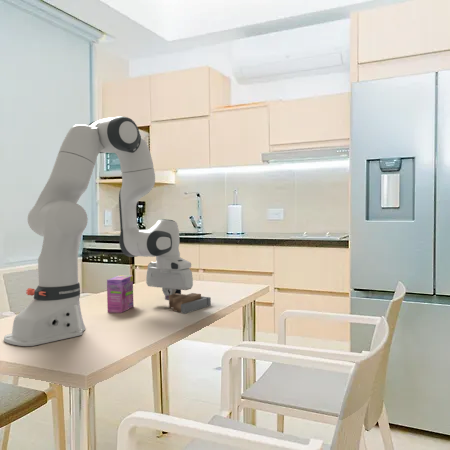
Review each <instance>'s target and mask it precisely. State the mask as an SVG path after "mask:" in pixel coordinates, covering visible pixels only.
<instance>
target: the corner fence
mask: <svg viewBox="0 0 450 450" xmlns="http://www.w3.org/2000/svg"><path fill="white" fill-rule="evenodd" d="M211 301H212V299H211V297H210V296H202V295H201V299H198V300H195V301H191V302H188V303H184V304H181V312H180V313H181V314H187V313H191V312H195V311H197V310H201V309H203V308H207V307H210V306H211V305H212V302H211Z"/></svg>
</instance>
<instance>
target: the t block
mask: <svg viewBox="0 0 450 450" xmlns="http://www.w3.org/2000/svg"><path fill="white" fill-rule="evenodd" d="M201 296H202V294H201V293H194V292H191V293H188V294H186V293H185V294H183V293H181V294H172V295H169V300H168V307H169V308H170V309H172V311H173V312H179V313H181V304H184V303H188V302H191V301H195V300H198V299H201Z"/></svg>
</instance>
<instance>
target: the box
mask: <svg viewBox="0 0 450 450" xmlns="http://www.w3.org/2000/svg"><path fill="white" fill-rule="evenodd" d="M106 293H107V294H106V297H107V298H106V302H107V305H106V306H107V307H106V308H107V313H113V314H116V313H117V314H122V313H124V312H126V311H128V310H129V309H131V308H133V307H134V305H135V304H134V276H133V275H132V274H130V275H129V274H125V275H122V274H121V275H120V274H119V275H117V276H113V277H111V278H108V279H106Z"/></svg>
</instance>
